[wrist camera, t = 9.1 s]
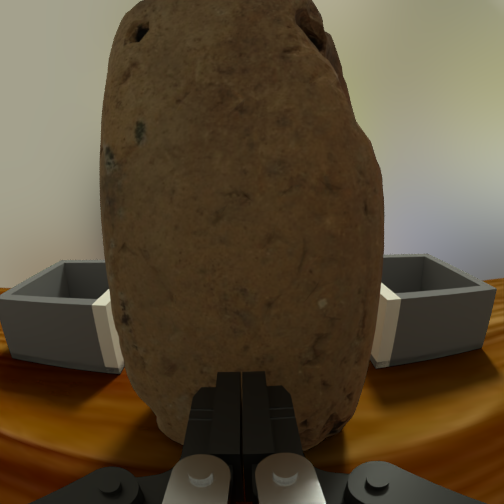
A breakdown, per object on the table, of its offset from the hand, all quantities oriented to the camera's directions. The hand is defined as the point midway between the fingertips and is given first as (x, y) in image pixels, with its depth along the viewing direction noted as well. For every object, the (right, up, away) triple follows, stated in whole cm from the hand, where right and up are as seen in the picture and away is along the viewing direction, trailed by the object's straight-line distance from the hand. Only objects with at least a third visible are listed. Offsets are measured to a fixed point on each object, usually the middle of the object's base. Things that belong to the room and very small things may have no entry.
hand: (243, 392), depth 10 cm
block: (0, -4, +6) cm, 7 cm away
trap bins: (0, -2, +15) cm, 15 cm away
